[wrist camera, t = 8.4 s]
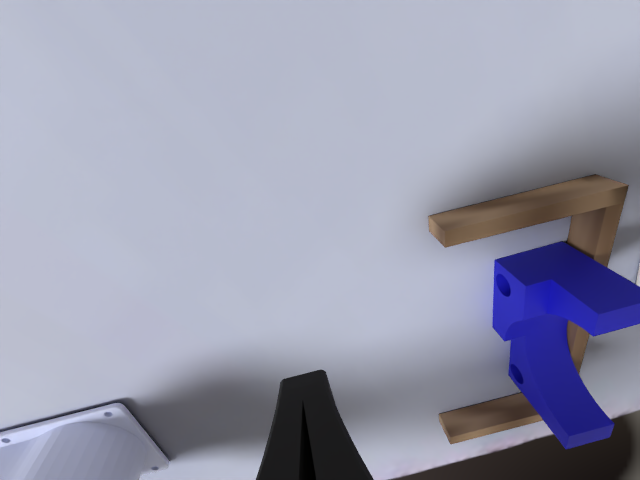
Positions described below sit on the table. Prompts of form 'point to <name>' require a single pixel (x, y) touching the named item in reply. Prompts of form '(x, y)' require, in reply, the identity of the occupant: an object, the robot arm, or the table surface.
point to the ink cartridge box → (638, 278)
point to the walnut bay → (515, 213)
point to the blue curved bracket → (559, 331)
